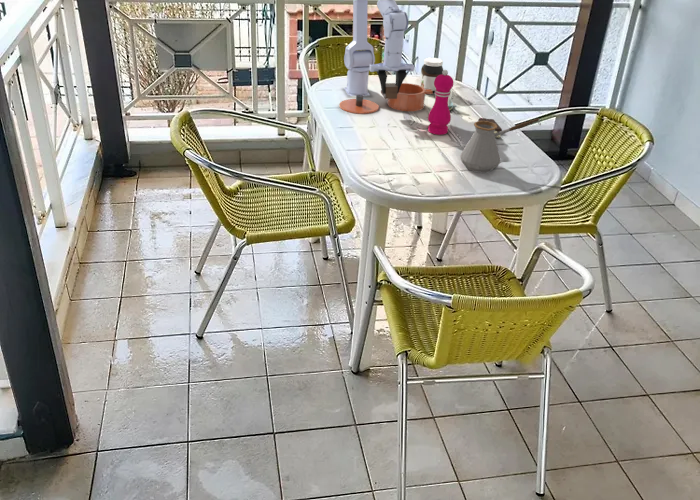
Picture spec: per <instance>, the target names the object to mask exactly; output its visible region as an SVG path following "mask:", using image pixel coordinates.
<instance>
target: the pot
mask: <svg viewBox="0 0 700 500" xmlns="http://www.w3.org/2000/svg"><path fill="white" fill-rule="evenodd" d="M432 93H433V91H432V90H431V89H424V87H421V86H420V84H415V83H408V82H402V84H401V87H400V89H399V93H398V94H397V99H387V106H388V108H391V109H393V110H396V111H401V112H417V111H421V110H424V107H425V98H426V95H433V94H432ZM380 94H381V95H382V91H381V90H380Z"/></svg>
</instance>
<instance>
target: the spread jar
mask: <svg viewBox="0 0 700 500" xmlns="http://www.w3.org/2000/svg"><path fill="white" fill-rule="evenodd" d="M443 64H444V61H443V59H441V58H438V57H426V58H424V60H423V65H422V66H421V68H420V76H419V86H421V87H424V89H431V90H432V91H433V93H432V94H431V95H435V94H434V93H435V89H436V88H435V86H434V81H435V78H436V77H437V76H438V75H441V74H442V71H443V70H444V67H443ZM450 91H452V88H451V89H450Z"/></svg>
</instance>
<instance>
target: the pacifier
mask: <svg viewBox="0 0 700 500" xmlns="http://www.w3.org/2000/svg"><path fill="white" fill-rule="evenodd" d="M454 97H455V92H454V91H453V90H451V93H450V96H449V98H448V108H449V111H452V109H453V108H457V107H458V105H455V104H454V103H453V101H452V100H453V99H454Z"/></svg>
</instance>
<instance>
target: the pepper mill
mask: <svg viewBox="0 0 700 500" xmlns="http://www.w3.org/2000/svg"><path fill="white" fill-rule="evenodd" d="M434 86H435V88H436V89H435V93H434V94H433V95H435V98H434V99H435V100H434V103H433V106H432V107H431V109H430V111H429V112H428V116H427V120H428V123H429V124H428V126H427V127H428V128H427V131H428V132H429V133H430V134H433V135H438V136H442V135H446V134H447V133H448V131H449V126H448V125H449V124H450V123H451V120H452V119H451V116H452V115H451V110H449V108H448V98H449V96H450V93H451V91H452V88H453V87H454V79H453V77H452V76H451V75H449V70H448V69H443V71H442V74H441V75H438V76H437V77H436V78H435V81H434ZM450 89H451V91H450Z"/></svg>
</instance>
